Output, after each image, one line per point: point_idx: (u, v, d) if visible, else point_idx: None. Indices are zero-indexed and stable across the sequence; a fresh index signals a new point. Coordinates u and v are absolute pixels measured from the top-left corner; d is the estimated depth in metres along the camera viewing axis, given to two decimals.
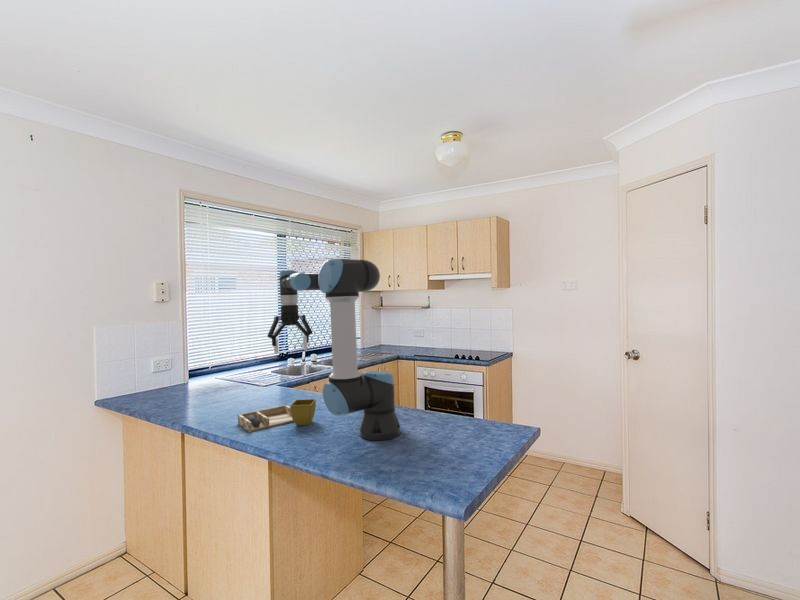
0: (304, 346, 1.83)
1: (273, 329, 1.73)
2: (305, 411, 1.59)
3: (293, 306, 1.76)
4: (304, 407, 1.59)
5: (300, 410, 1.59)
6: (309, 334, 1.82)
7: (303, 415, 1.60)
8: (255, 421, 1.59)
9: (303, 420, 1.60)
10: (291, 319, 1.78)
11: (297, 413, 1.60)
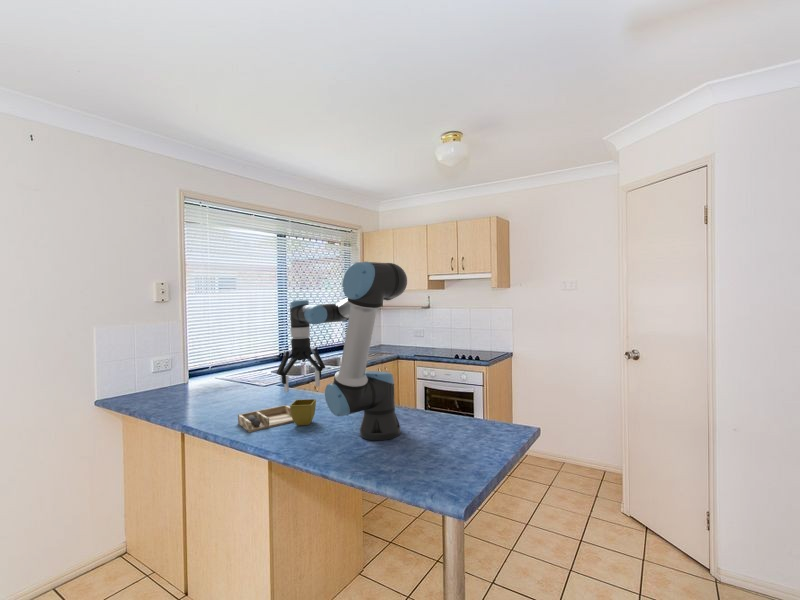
0: (316, 382, 1.68)
1: (283, 365, 1.58)
2: (305, 411, 1.59)
3: (305, 340, 1.61)
4: (304, 407, 1.59)
5: (300, 410, 1.59)
6: None
7: (303, 415, 1.60)
8: (255, 421, 1.59)
9: (303, 420, 1.60)
10: (302, 353, 1.63)
11: (297, 413, 1.60)
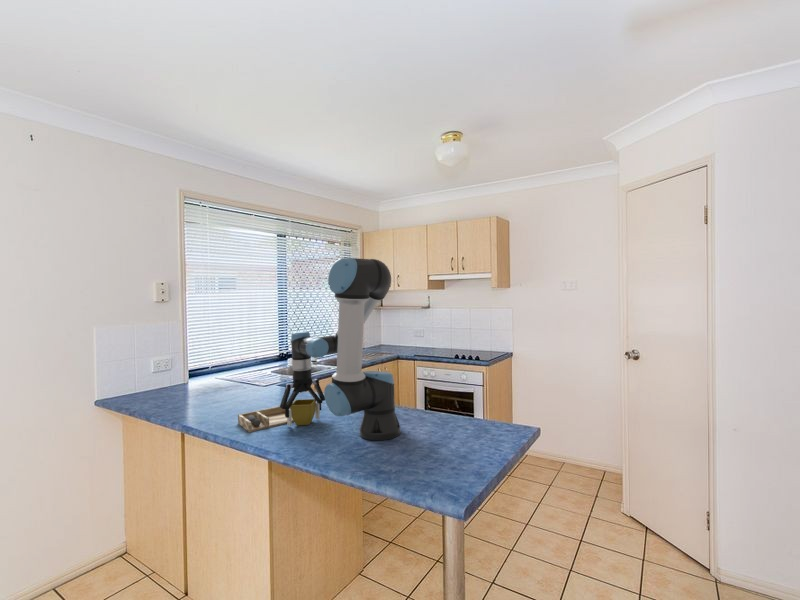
0: (316, 414, 1.67)
1: (286, 399, 1.58)
2: (305, 411, 1.59)
3: (306, 372, 1.61)
4: (304, 407, 1.59)
5: (300, 410, 1.59)
6: None
7: (303, 415, 1.60)
8: (255, 421, 1.59)
9: (303, 420, 1.60)
10: (304, 385, 1.63)
11: (297, 413, 1.60)
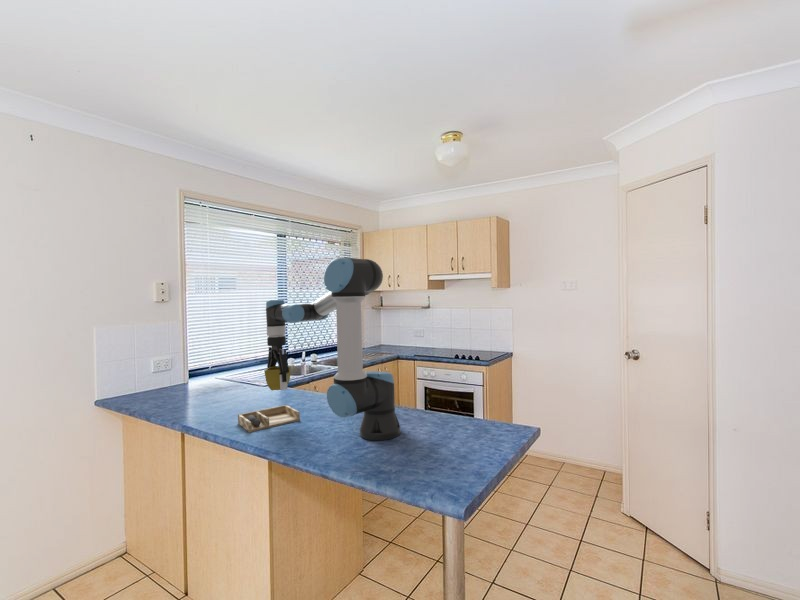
0: None
1: (268, 360, 1.73)
2: None
3: (268, 338, 1.65)
4: None
5: None
6: (280, 373, 1.61)
7: None
8: (255, 421, 1.59)
9: None
10: None
11: None
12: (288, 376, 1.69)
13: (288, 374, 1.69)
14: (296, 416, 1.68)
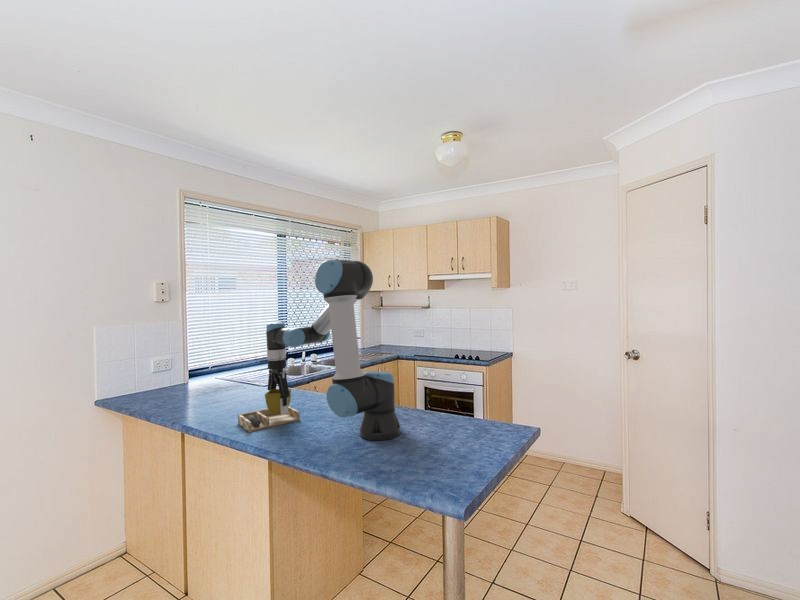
0: None
1: (268, 382, 1.73)
2: None
3: (268, 362, 1.65)
4: None
5: None
6: (280, 397, 1.61)
7: None
8: (255, 421, 1.59)
9: None
10: None
11: None
12: (288, 399, 1.69)
13: (288, 397, 1.69)
14: (296, 416, 1.68)
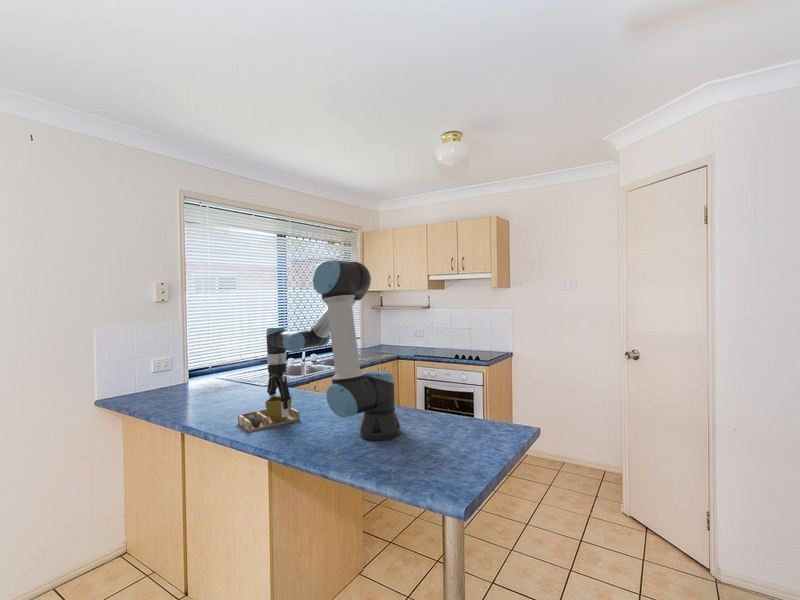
0: None
1: (268, 385, 1.73)
2: None
3: (268, 366, 1.65)
4: None
5: None
6: (281, 400, 1.60)
7: None
8: (255, 421, 1.59)
9: None
10: None
11: None
12: (289, 406, 1.69)
13: (289, 404, 1.69)
14: (296, 416, 1.68)
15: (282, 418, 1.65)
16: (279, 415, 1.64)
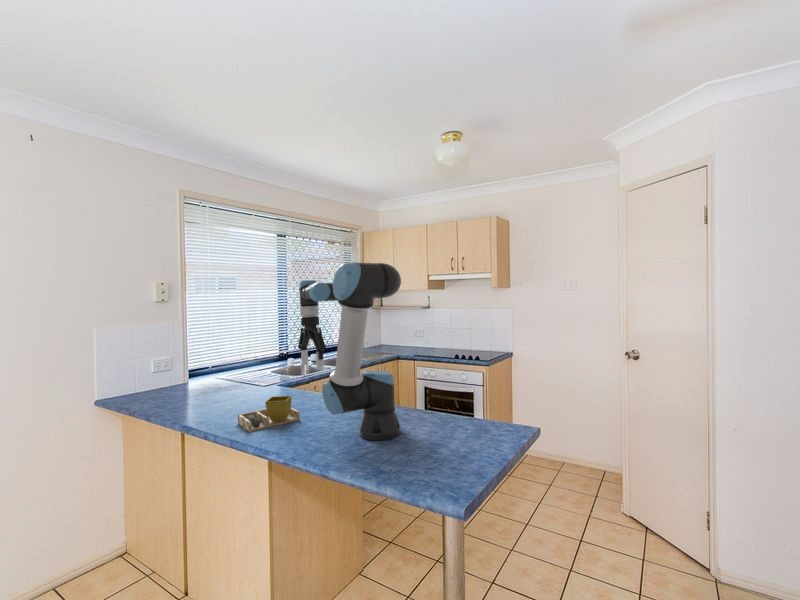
0: None
1: (299, 340, 1.75)
2: None
3: (302, 319, 1.67)
4: None
5: None
6: (317, 350, 1.62)
7: None
8: (255, 421, 1.59)
9: None
10: None
11: None
12: (289, 406, 1.69)
13: (289, 404, 1.69)
14: (296, 416, 1.68)
15: (282, 418, 1.65)
16: (279, 415, 1.64)
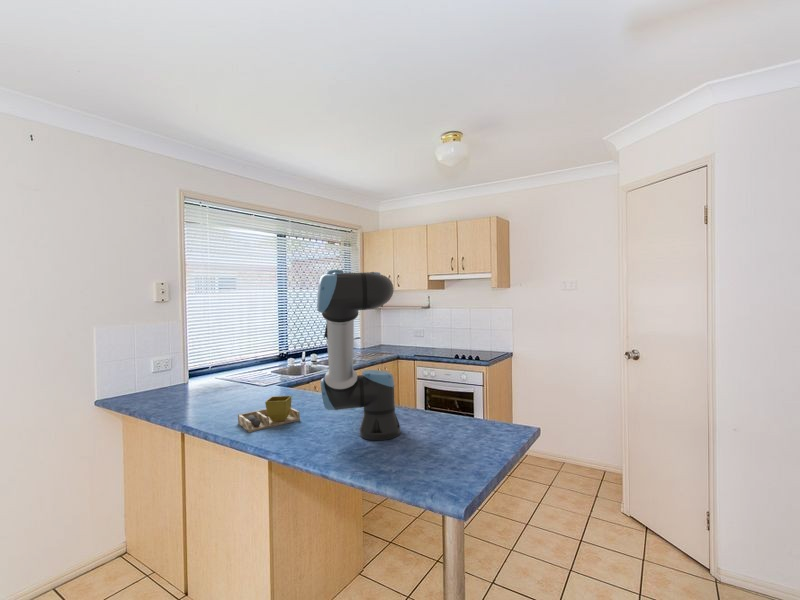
0: None
1: (326, 329, 1.77)
2: None
3: None
4: None
5: None
6: None
7: None
8: (255, 421, 1.59)
9: None
10: None
11: None
12: (289, 406, 1.69)
13: (289, 404, 1.69)
14: (296, 416, 1.68)
15: (282, 418, 1.65)
16: (279, 415, 1.64)
